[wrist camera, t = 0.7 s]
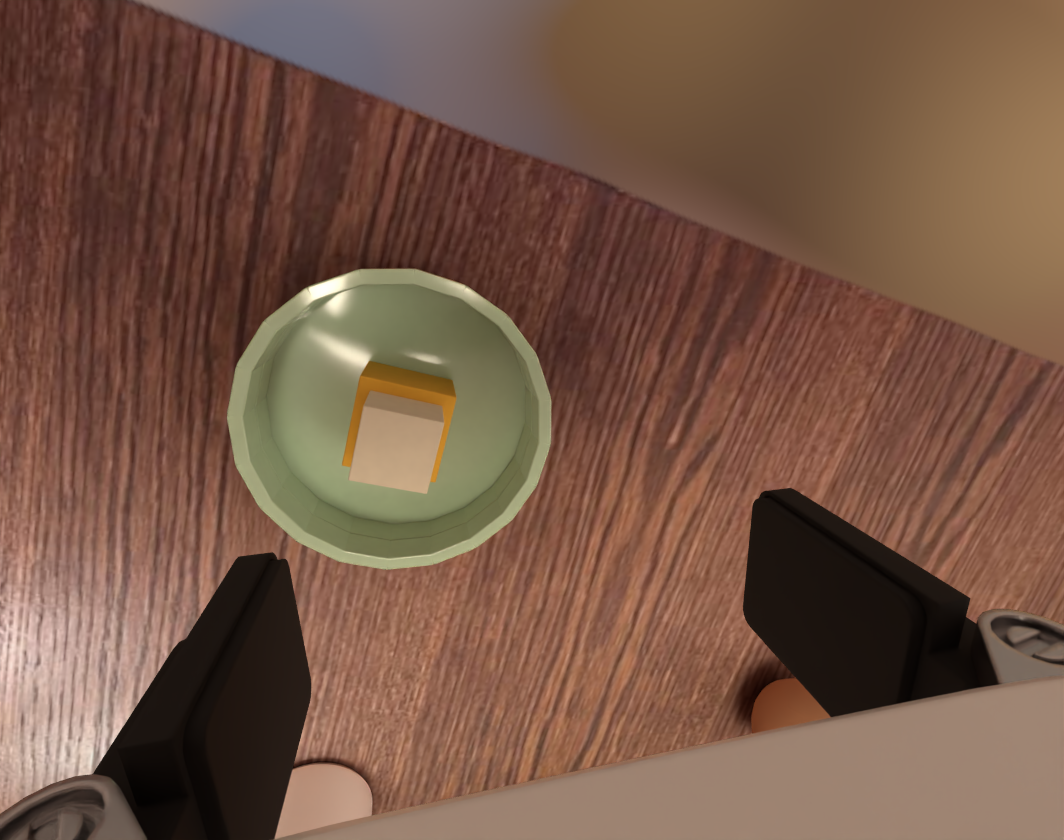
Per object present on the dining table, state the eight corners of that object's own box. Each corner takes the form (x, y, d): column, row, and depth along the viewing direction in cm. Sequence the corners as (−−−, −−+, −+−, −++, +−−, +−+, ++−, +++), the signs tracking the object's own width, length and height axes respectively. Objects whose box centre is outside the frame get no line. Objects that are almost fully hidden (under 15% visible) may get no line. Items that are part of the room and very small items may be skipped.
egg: (742, 744, 38) (824, 870, 30) (718, 680, 35) (801, 798, 28) (822, 704, 38) (924, 817, 30) (803, 638, 36) (908, 742, 28)
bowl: (235, 499, 26) (202, 539, 22) (289, 227, 23) (262, 220, 19) (492, 547, 29) (502, 589, 26) (568, 316, 26) (591, 324, 23)
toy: (352, 439, 26) (331, 490, 20) (368, 360, 25) (351, 389, 19) (434, 455, 27) (436, 508, 21) (453, 379, 26) (460, 413, 20)
